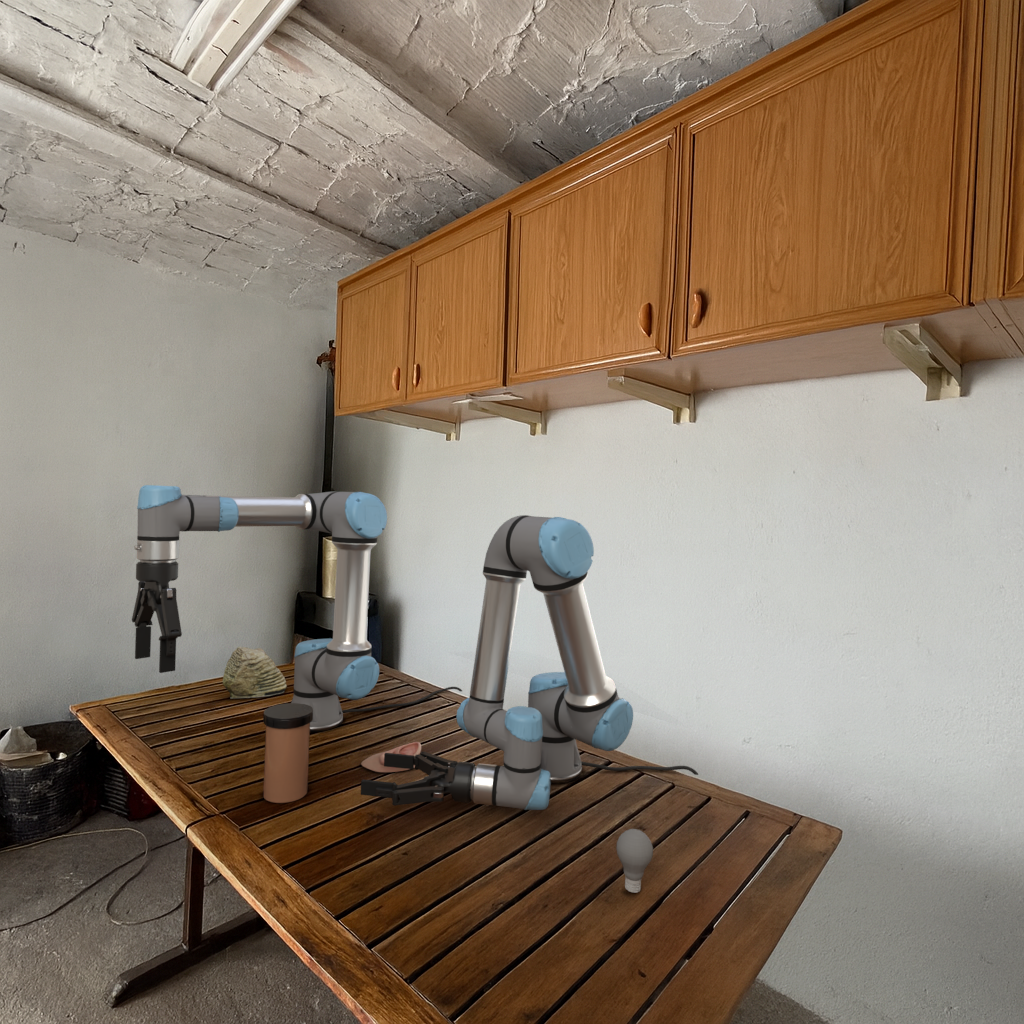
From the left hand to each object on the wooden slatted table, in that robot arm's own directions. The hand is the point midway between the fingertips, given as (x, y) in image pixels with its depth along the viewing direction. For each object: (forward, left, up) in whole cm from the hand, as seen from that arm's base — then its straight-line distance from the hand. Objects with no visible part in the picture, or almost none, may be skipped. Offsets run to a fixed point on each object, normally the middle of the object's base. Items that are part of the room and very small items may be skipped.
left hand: (154, 664), depth 129 cm
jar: (-20, +18, -28) cm, 38 cm away
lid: (-20, +18, -10) cm, 28 cm away
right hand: (-30, +34, -21) cm, 50 cm away
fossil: (-49, -47, -28) cm, 74 cm away
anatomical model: (-45, +22, -28) cm, 57 cm away
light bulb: (-40, +89, -28) cm, 102 cm away
